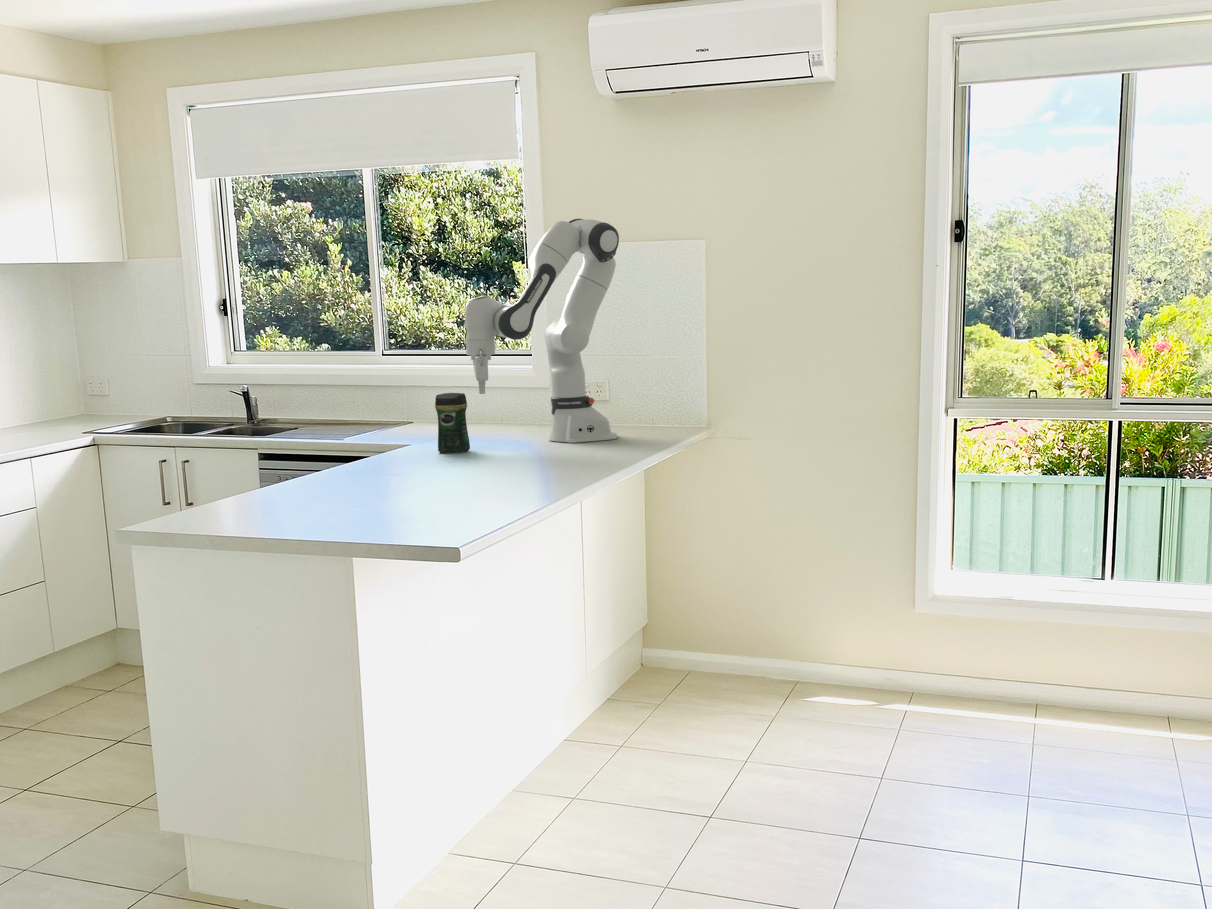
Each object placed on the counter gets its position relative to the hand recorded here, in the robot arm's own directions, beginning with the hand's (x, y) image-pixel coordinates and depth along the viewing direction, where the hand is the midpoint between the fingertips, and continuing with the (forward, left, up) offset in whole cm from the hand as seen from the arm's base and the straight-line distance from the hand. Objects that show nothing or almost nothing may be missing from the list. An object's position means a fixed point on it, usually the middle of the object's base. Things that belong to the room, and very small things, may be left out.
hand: (482, 393), depth 340 cm
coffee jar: (+10, 0, -18) cm, 20 cm away
